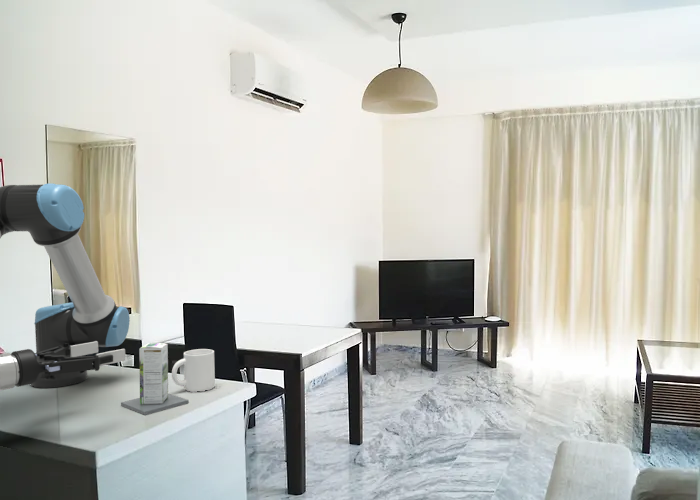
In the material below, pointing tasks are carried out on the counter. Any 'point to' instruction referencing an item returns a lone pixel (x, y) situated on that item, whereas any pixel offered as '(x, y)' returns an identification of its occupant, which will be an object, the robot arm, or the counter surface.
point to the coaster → (151, 408)
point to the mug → (196, 370)
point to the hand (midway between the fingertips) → (110, 350)
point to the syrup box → (153, 373)
